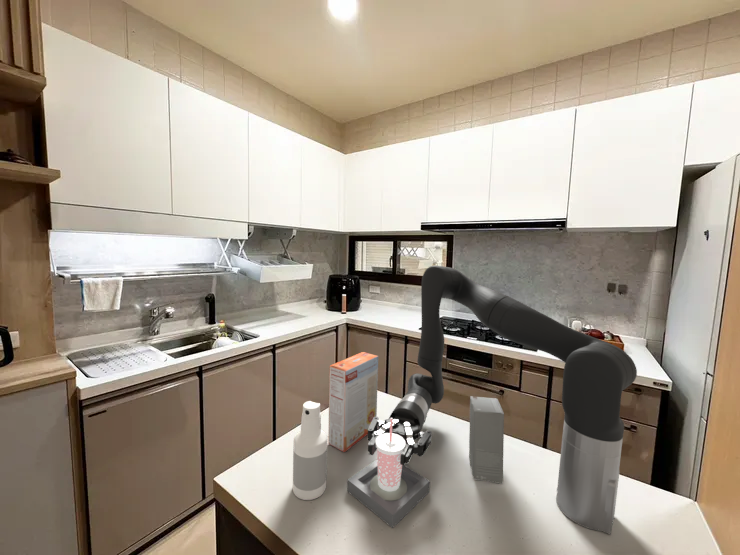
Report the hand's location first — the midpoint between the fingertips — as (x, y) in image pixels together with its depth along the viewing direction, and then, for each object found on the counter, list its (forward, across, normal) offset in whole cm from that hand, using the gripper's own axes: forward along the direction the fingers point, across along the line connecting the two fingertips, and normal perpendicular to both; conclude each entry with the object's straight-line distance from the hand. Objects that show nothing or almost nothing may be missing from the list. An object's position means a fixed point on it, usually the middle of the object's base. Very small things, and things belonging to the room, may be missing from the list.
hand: (386, 455), depth 62 cm
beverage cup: (-2, 0, +8) cm, 8 cm away
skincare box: (-18, +18, +10) cm, 27 cm away
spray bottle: (+4, -15, +10) cm, 18 cm away
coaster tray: (-2, 0, +9) cm, 10 cm away
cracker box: (-16, -15, +10) cm, 24 cm away
